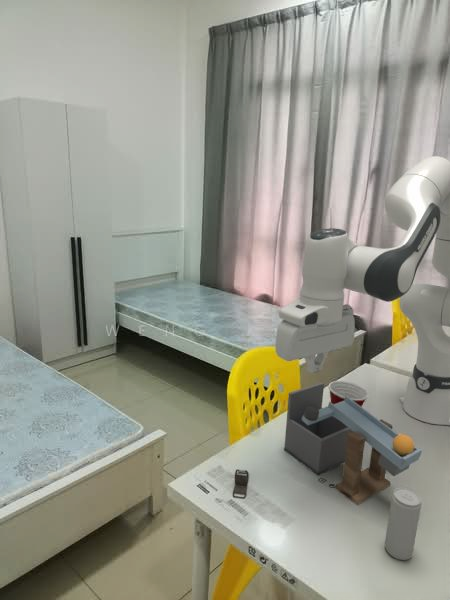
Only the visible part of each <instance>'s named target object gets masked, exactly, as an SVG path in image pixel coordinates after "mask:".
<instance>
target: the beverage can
mask: <svg viewBox="0 0 450 600" xmlns="http://www.w3.org/2000/svg"><path fill="white" fill-rule="evenodd" d="M421 509H422V497H421V496H420V495H419V494H418V493H417V492H416V491H414V490H413V489H410V488H408V487H398V488H395V489H394V491H393V493H392V497H391V501H390V507H389V513H388V514H389V515H388V520H387V527H386V533H385V539H384V540H385V541H384V547H385V550H386V551H387V553H388V554H389V555H390V556H391V557H393V558H394V559H396V560H399V561H406V560H409V559H411V558H412V556H413V553H414V552H413V551H414V547H415V542H416V536H417V530H418V526H419V519H420V514H421Z"/></svg>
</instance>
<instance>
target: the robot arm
mask: <svg viewBox="0 0 450 600" xmlns="http://www.w3.org/2000/svg"><path fill="white" fill-rule="evenodd" d="M384 207H385V212H386V214H387V216H388V218H389V219H390V221H391V222H392V223H393V224H394V225H395V226H396V227H398V228H399V229H401V230H404V231H406V232H405V234H403V235H404V236H403V237H402V239H401V241H400V242H399V243H398V245H397V246H394V247H390V248H389V247H388V248H380V247H373V246H365V245H363V244H358V243H356V242H354V241H353V240H351V238H349V235H348V232H347V231H346V230H344V229H342V228H341V229H340V228H334V227H332V228H331V227H330V228H322V229H321V228H320V229H317V230H314V231H313V232H311V233H309V235H308V237H307V240H306V243H305V246H304V250H303V251H304V252H303V257H302V264H301V265H302V266H301V276H302V286H301V288H300V290H299V297H298V298H296V299H295V300H293V301H291V302H290V303H288V304H287V305H285V306H283V307H282V308H280V309H279V311H278V313H279V314H278V317H279V319H280V320H281V321H280V322H279V324H278V326H277V331H276V336H275V348H274V349H275V353H276V355H277V357H278V358H280V359H282V360H285V361H286V362H292V361H297V360H301V359H304V361H305V363H306V372H308V373H309V374H311V375H312V374H314V373H318V372H321V371H323V367H324V363H325V361H326V359H327V357H328V355H329V352H330V351H335V350H338V349H343V348H346V347H350V346H352V345H353V343H354V341H355V333H356V332H355V328H356V327H355V326H356V325H355V324H356V323H355V316H354V312H355V311H354V309H353V307H352V306H351V304H348V303H346V304H344V300H345V292H344V289H346V290H350V291H352V292H356V293H359V294H363V295H368V296H370V297H372V298H375V299H378V300H381V301H384V302H388V303H390V302H393V301H396V300H398V299H399V300H398V302H399V308H400V311H401V313H402V314H403V315H404V316H405V317H406V318H407V319H408V321H409V322H410V323H411V325H412V327H413V328H414V330H415V331H414V332H415V334H416V337H417V353H416V361H415V362H416V363H415V364H414V366H413V369H412V377H410V378H409V379H408V381H407V383H406V387H405V393H404V396H400V398H399V401H400V402H401V404H402V408H403V410H404V412H405V413H406V414H407V415H409V416H410V417H411V418H414V419H416V420H418V421H421V422H423V423H424V422H425V423H427V424H431V425H442V426H443V425H444V426H450V336H449V335H448V334H447V333H446V332H445V330H444V328H443V326H445V327H449V328H450V287H448V286H440V285H436V284H434V285H433V284H429V283H416V284H415V283H413V282H414V280H415V278H416V273H417V270H418V268H419V266H420V264H421V263H422V261H423V259H424V257H425V255H426V253H427V251H428V250H429V247H430V246H431V244H432V242H433V240H434V238H435V241H434V246H433V253H432V260H431V263H432V265H433V268H434V270H436V271H437V272H438V273H439V274H441V275H442V276H444V277H445V278H447V280H448V281H449V282H450V160H449V159H447V158H445V157H442V156H437V155H434V156H428V157H426V158H423V159H422V160H420V161H419V162H418V163H416V164H415V165H413V166H412V167H411V168H410V169H408V170H407V171H406V172H405V173H404V174H403V175H401V177H399V179H398V180H397V181H395V183H393V185H392V186H391V187H390V188H389V190H388V192H387V194H386V196H385V200H384Z"/></svg>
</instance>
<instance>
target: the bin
mask: <svg viewBox="0 0 450 600" xmlns="http://www.w3.org/2000/svg"><path fill="white" fill-rule="evenodd" d="M324 389H325V383H324V382H319V383H315V384H312V385H309V386H306V387H303V388H299V389H297V390H292V391H291V392H288V399H287V400H288V401H287V412H286V424H285V425H286V426H285V436H284V437H285V438H284V451H285V452H286V453H288V454H289V455H290V456H292V457H293V458H294V459H296V461H298V462H299V463H300V464H303V466H305V467H306V468H308V470H310V471H311V472H313V473H314V474H315V475H316V476H320V475H321V474H323V473H326V472H328V471H331V469H334V468H337V467H338V466H340V465H342V464H344V460H345V452H346V444H347V436H348V434H349V433H351V432H353V431H352V430H351V429H350V428H348V427H347V426H346V425H345V424H343V423H342V422H341V421H340V420H338V419H337V418H336V417H335V416H331V417H328V418H326V419H323V420H321V421H318V422H316V423H313V424H311V425H307V424H306V423H305V422H303V421H302V417H303V415H304V413H305V409H306V407H308V406H312V407H315V408H317V409H318V410H319V409H322V408H323V407H322V406H323V399H324V398H323V397H324V391H325V390H324Z"/></svg>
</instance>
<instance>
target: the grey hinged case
mask: <svg viewBox="0 0 450 600" xmlns="http://www.w3.org/2000/svg"><path fill="white" fill-rule="evenodd" d="M249 480H250V472H249V471H248V470H246V469H235V473H234V484H235V485H234V487H233V491H232V497H233V498H234V499H241V500H245V499H246V498H247V495H248V494H247V492H248V483H249ZM238 495H239V496H238ZM240 495H242V496H240Z"/></svg>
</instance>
